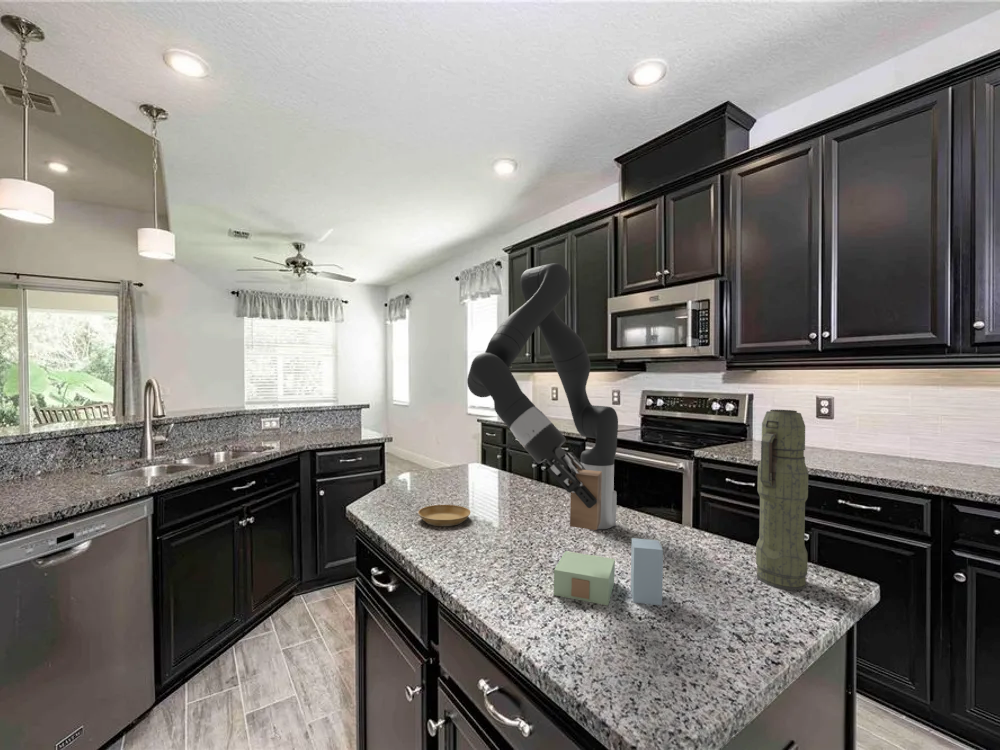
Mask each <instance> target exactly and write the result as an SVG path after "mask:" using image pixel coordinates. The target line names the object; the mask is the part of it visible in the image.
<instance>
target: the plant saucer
mask: <svg viewBox="0 0 1000 750" xmlns="http://www.w3.org/2000/svg"><path fill="white" fill-rule="evenodd" d="M417 514H418V516H419V517H420V518H421V519H422V521H424V522H425V523H426V524H428V525H429V526H433V527H434V526H435V527H452V526H453V527H454V526H457V525H459V524H462V523H463V522H464V521H466V520H467V519H468V518H469V516H470V515H471V510H470V509H469V508H467V507H465V506H462V505H461V506H459V505H455V504H433V505H428V506H425V507H422V508H420V509H419V510H418V511H417Z"/></svg>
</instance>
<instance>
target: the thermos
mask: <svg viewBox="0 0 1000 750" xmlns="http://www.w3.org/2000/svg"><path fill="white" fill-rule="evenodd" d="M769 410H770V411H765V414H764V417H763V419H762V422H761V442H760V444H761V445H760V449H761V450H760V461H759V462H758V466H757V493H758V496H759V526H758V527H759V530H758V533H759V536H758V537H759V538H758V539H757V542H756V545H755V564H756V578H757V579H758V580H759V581H761V583H764V584H766V585H768V586H770V587H773V588H776V589H781V590H786V591H787V590H788V591H803V590H805V589H806V588H807V580H806V578H807V575H808V551H807V549H806V544H805V530H806V529H805V528H806V527H805V526H806V525H805V523H806V522H805V521H806V519H805V518H806V517H805V516H806V502H807V500H808V498H809V470H808V467H807V464H806V461H805V460H806V457H805V456H804V455H805V450H806V423H805V421H804V418H803V416H802V413H800V412H798V411H797V410H794V409H793V410H791V409H769Z"/></svg>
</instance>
